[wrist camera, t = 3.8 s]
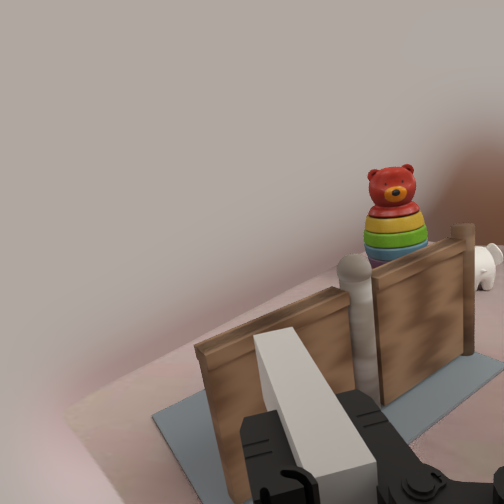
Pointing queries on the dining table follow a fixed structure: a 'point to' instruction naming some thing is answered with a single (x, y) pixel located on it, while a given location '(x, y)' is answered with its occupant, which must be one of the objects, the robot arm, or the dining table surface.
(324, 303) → the hinged fence panel
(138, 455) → the dining table surface
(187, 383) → the dining table surface
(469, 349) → the fixed fence
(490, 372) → the card
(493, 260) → the elephant figurine
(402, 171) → the stacking bear
